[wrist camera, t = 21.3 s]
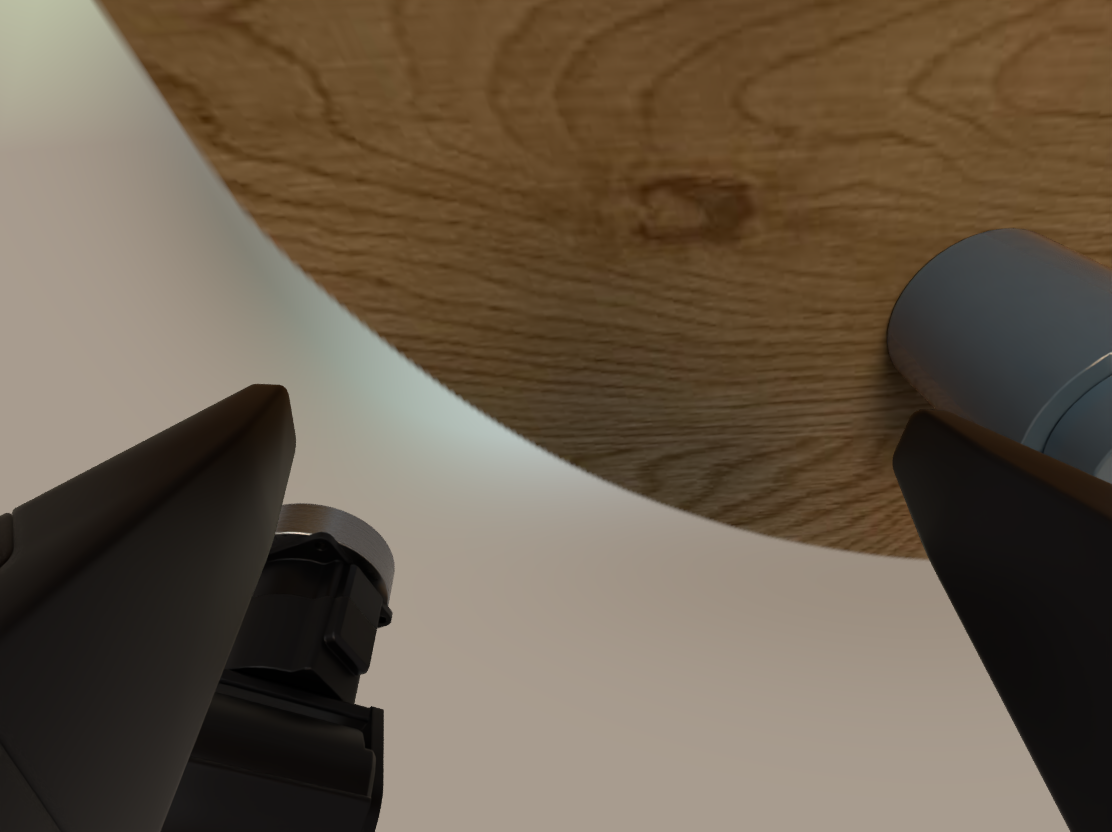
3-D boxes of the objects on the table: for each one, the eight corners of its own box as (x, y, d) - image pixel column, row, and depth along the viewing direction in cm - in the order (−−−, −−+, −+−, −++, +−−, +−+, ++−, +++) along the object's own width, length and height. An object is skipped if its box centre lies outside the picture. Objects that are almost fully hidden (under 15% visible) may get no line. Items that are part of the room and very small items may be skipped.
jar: (892, 410, 25) (1050, 587, 17) (880, 267, 21) (1067, 414, 14) (1060, 356, 24) (1299, 520, 17) (1074, 199, 20) (1377, 319, 13)
